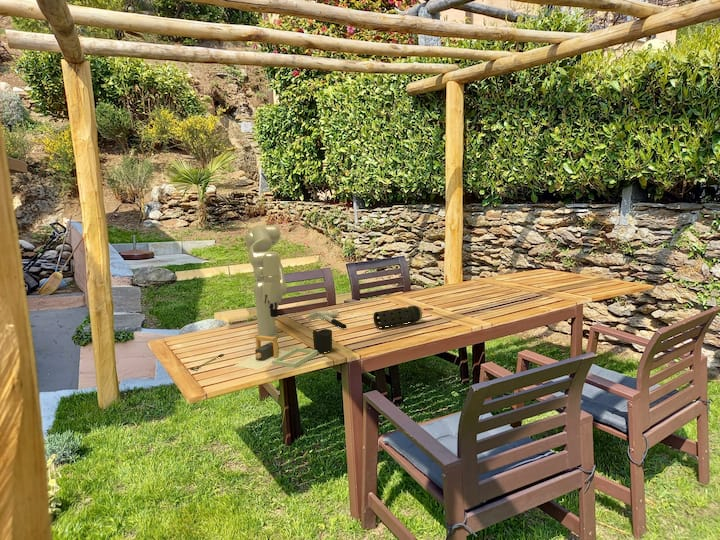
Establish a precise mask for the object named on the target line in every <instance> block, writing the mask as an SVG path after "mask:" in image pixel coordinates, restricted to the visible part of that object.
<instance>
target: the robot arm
mask: <svg viewBox="0 0 720 540" xmlns="http://www.w3.org/2000/svg"><path fill="white" fill-rule="evenodd" d="M280 239H281V231H280V228H279V227H278V226H277V225H276V224H271V225H270V224H266V225H263V224H262V225H256V226H254V228H253V229H252V231H248V232H247V233H246V234H245V236H244V242H245V246H246V249H247V251H248V257H249V262H250V265H251V266H252V269H253V273H254V275H253V276H254V277H255V279H257V280H258V281H256V282H254V284H253V287H252V288H253V293H254V299H255V307H256V320H257V323H256V324H257V325H256V326H257V334H256V335H255V336H258V335H260V336H268V337H277V338H279V336H280V335H279V333H278V331H279V330H280V329H281V327H280V325H279V326H276V318H277V317H278V316H279V314H278V313H279V311H278V308H279V305H280V304H281V302H282V301H283V296H285V295H286V294H287V290H288V289H287V282H286V277H285V271H284V266H283V264H282V263H281V257H280V256H281V255H280V254H279V252H278V251H276V250H270V249H271V248H272V246H276V245H277V244H278V242H279V241H280ZM269 250H270V251H269ZM254 339H256V337H255V338H254Z"/></svg>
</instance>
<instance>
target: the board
mask: <svg viewBox="0 0 720 540" xmlns="http://www.w3.org/2000/svg"><path fill="white" fill-rule="evenodd" d="M289 351H290V350H289ZM289 351H288V350H283V349H279V353H278V355H279V356H278V357H280V356H282V355H284V354H285V353H287V352H289ZM278 357H277V358H278ZM274 359H276V358H274V356H272V357H270V358H268V359H266V360H265V361H261V360H256V354H254V355H252V356H250V357H248V358H246V359H244V360H242V361H240V362H238V363H237V364H234V365H233V366H234V367H238V368H239V367H240V368H246V369H251V370H257V371H259V370H261V369H263V368H264V367H266V366H268V365H270V364H272V360H274Z"/></svg>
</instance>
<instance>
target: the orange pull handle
mask: <svg viewBox="0 0 720 540" xmlns="http://www.w3.org/2000/svg"><path fill="white" fill-rule="evenodd" d="M255 337H256V338H255V347H256V348H255V349H257V348H259V347H261V345H262V343H261V341H264V342H265V341H266V342H273V350H274V358H277V357H278V356H279V355H278V347H279V340H278V338H279V337H278V338H277V337H268V336H260V335H258V336H256V335H255Z"/></svg>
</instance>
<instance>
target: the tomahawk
mask: <svg viewBox="0 0 720 540" xmlns="http://www.w3.org/2000/svg"><path fill="white" fill-rule="evenodd" d="M224 356H225V354H224V353H221V354H219V355H218V356H217V357H215V358H212V359H210V360H208V361H206V362H204V363H202V364H200V365H199V366H196V367H190V369H189V370H190V371H195V372H198V371H199V368H200V369H201V368H202V367H204V366H206V365H207V364H209V363H211V362H213V361H216V360H217V359H216V358H218V357H220V358H222V357H224ZM218 359H219V358H218Z"/></svg>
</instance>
